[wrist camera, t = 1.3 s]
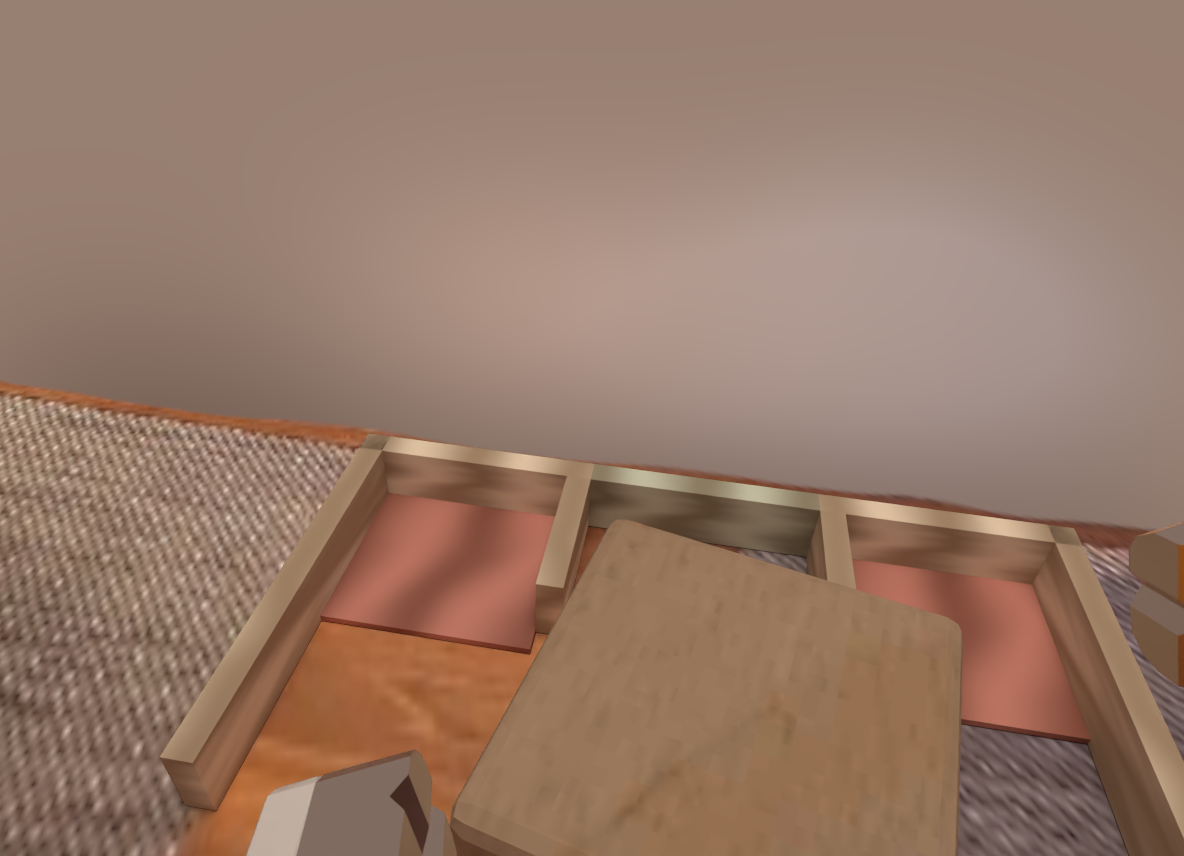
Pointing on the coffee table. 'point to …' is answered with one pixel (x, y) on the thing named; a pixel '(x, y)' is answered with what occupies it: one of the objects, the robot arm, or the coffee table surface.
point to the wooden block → (723, 717)
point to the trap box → (706, 514)
